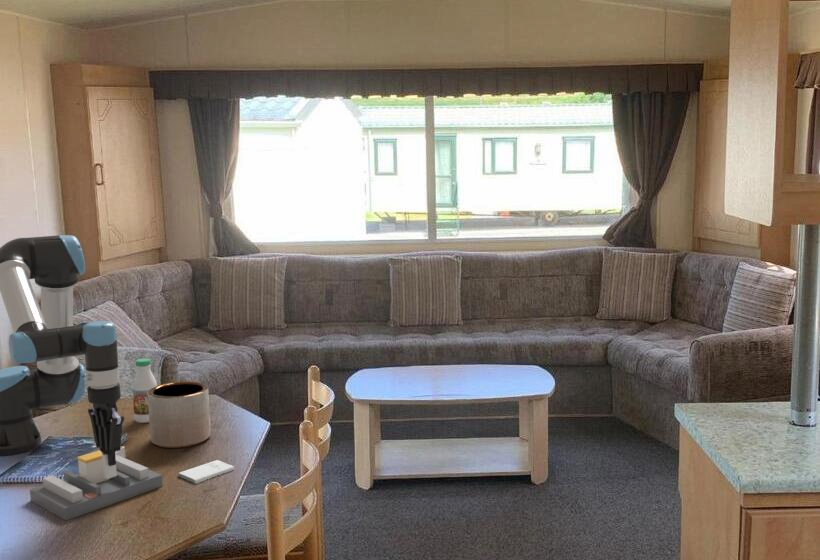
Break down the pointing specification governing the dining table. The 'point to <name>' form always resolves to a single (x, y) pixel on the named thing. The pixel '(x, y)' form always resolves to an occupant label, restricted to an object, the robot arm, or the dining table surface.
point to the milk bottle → (142, 390)
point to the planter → (179, 414)
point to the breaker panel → (93, 489)
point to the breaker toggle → (91, 467)
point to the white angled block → (121, 452)
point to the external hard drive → (206, 471)
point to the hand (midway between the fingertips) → (110, 476)
